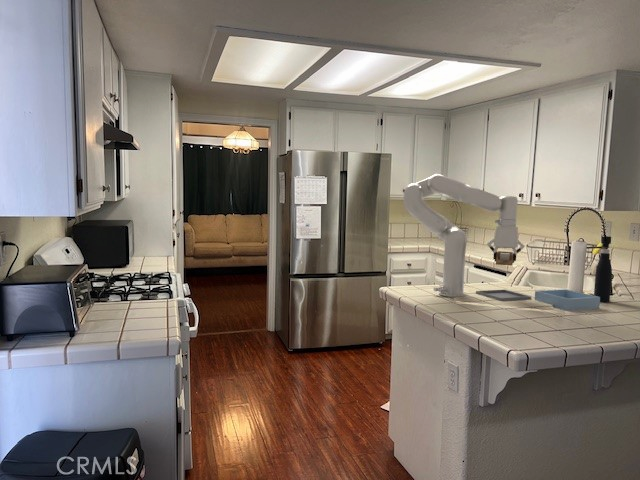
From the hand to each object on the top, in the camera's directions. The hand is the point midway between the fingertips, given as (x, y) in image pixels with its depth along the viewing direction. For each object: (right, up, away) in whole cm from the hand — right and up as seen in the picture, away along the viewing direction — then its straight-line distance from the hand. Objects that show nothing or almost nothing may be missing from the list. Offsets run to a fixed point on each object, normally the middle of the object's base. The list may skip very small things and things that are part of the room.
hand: (504, 261), depth 222 cm
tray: (0, -17, +1) cm, 17 cm away
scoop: (0, -1, 0) cm, 1 cm away
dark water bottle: (+46, -19, +2) cm, 49 cm away
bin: (+23, -19, -10) cm, 32 cm away
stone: (0, 0, +1) cm, 1 cm away
